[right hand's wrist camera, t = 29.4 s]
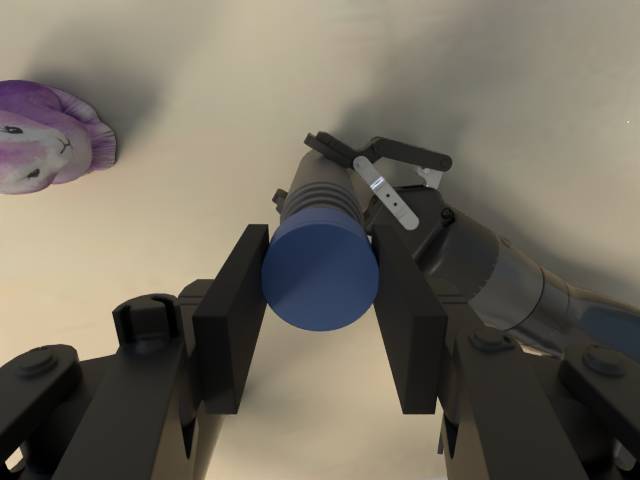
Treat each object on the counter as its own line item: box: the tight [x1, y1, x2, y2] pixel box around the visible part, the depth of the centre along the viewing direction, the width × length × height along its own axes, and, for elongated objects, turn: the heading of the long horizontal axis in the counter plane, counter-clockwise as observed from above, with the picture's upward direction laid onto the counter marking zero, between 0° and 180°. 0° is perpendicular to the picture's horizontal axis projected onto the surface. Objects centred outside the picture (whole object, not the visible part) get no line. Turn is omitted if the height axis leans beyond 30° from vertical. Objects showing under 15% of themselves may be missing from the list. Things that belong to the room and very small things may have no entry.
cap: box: [261, 208, 379, 331], centre depth 13 cm, size 4×4×2 cm
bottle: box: [280, 150, 364, 229], centre depth 23 cm, size 4×4×22 cm
